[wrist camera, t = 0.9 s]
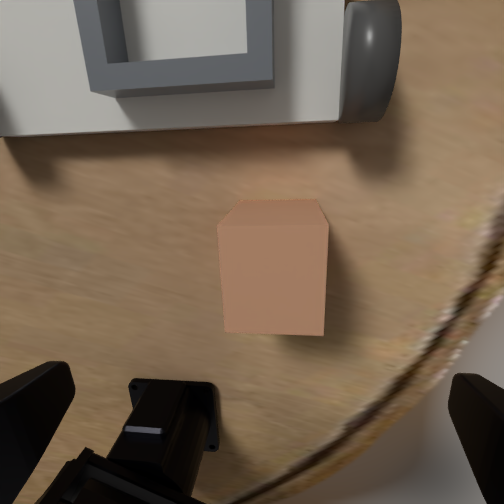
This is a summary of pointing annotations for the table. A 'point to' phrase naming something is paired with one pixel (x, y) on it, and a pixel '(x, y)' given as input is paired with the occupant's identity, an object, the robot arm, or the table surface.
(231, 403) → the table surface
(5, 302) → the table surface
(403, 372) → the table surface
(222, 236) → the tan rectangular block
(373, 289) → the table surface
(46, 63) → the chassis
